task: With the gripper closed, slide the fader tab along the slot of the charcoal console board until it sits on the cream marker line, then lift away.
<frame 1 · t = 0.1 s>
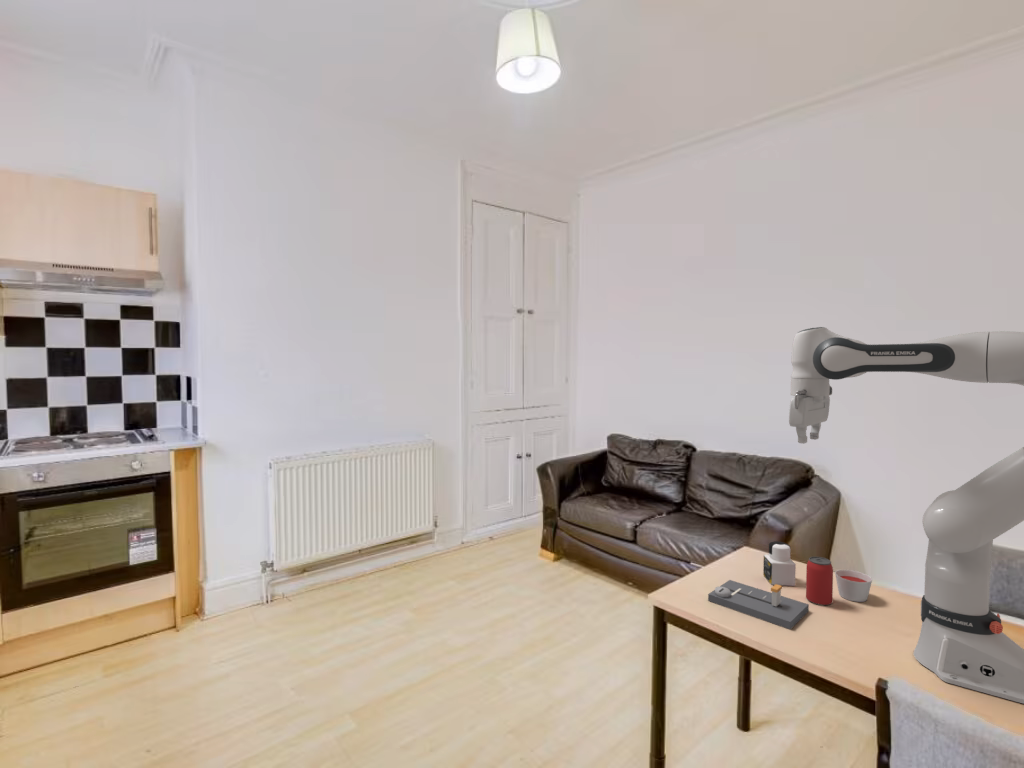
hand: (808, 441, 137), 48 cm above the table, fingers open, 8 cm apart
console: (757, 605, 145), on the table
beer can: (818, 601, 148), on the table
medicine bottle: (778, 581, 162), on the table
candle: (852, 597, 151), on the table
fader: (776, 595, 141), point 5 cm above the table, slide at 0.0 cm
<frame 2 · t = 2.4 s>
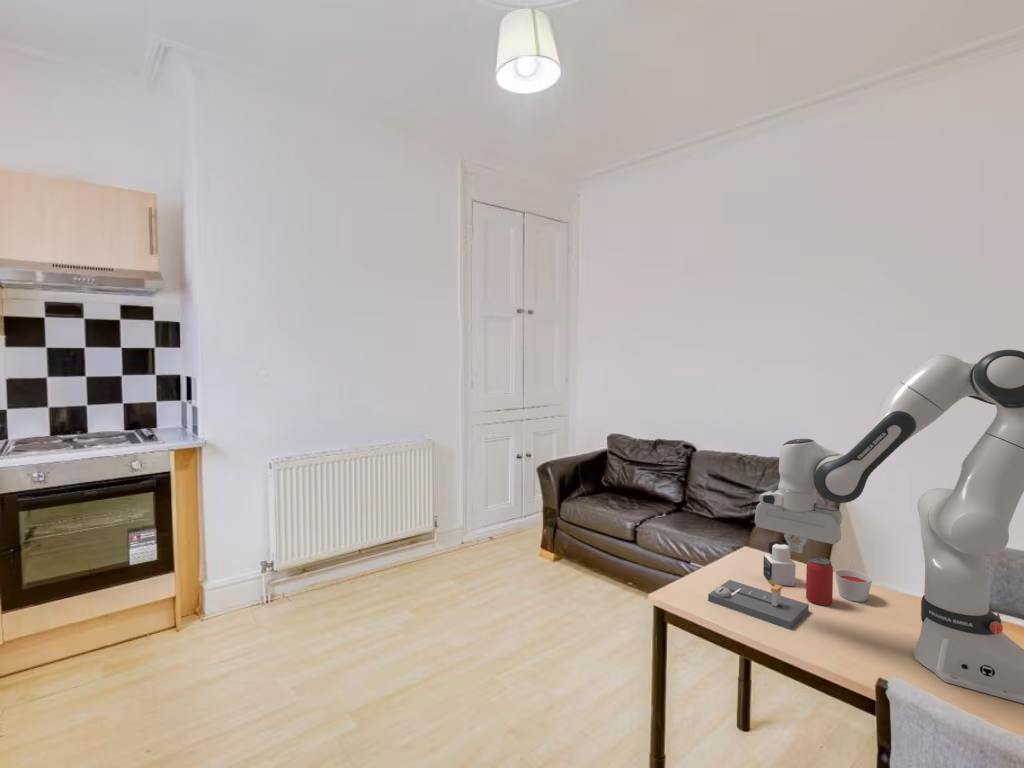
hand: (795, 551, 137), 19 cm above the table, fingers closed
nothing on the table moved.
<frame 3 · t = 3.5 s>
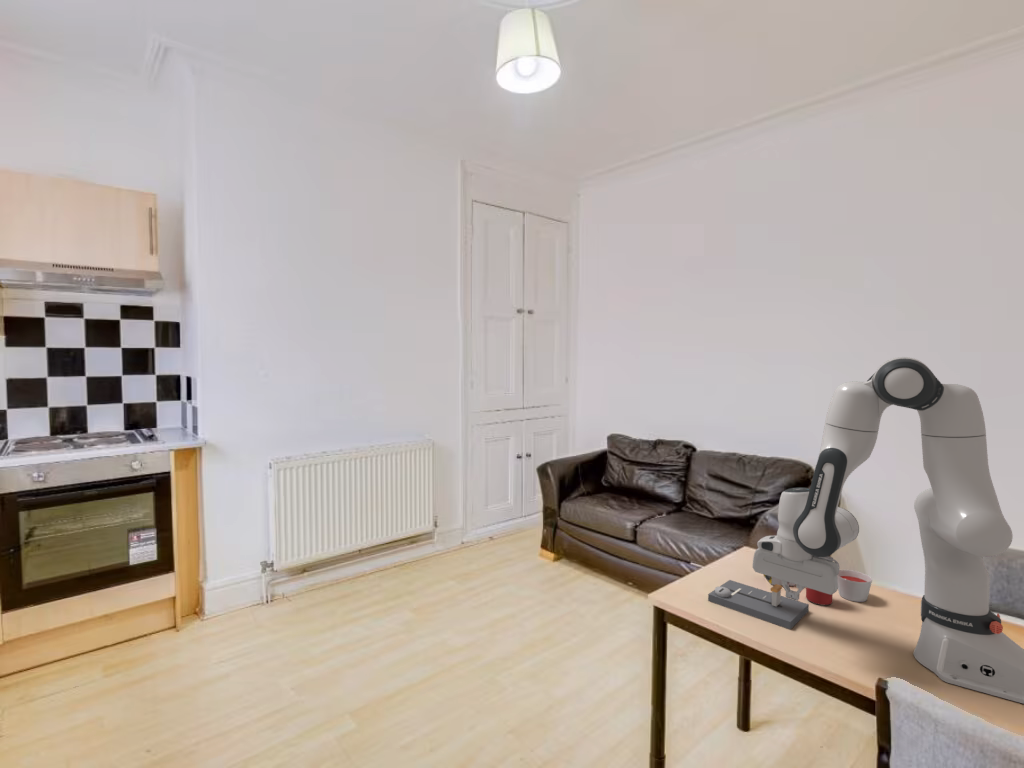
hand: (792, 598, 138), 6 cm above the table, fingers closed
nothing on the table moved.
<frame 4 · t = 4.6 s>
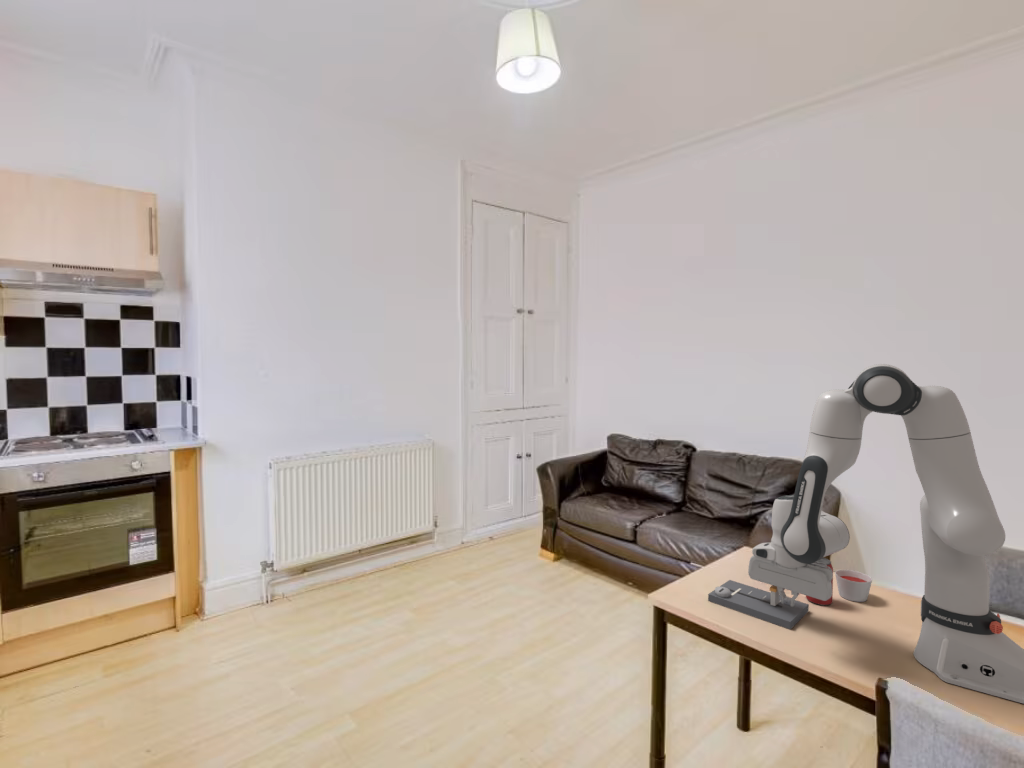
hand: (787, 604, 139), 3 cm above the table, fingers closed
fader: (775, 595, 142), point 5 cm above the table, slide at 0.3 cm, touching gripper
everything else where it was.
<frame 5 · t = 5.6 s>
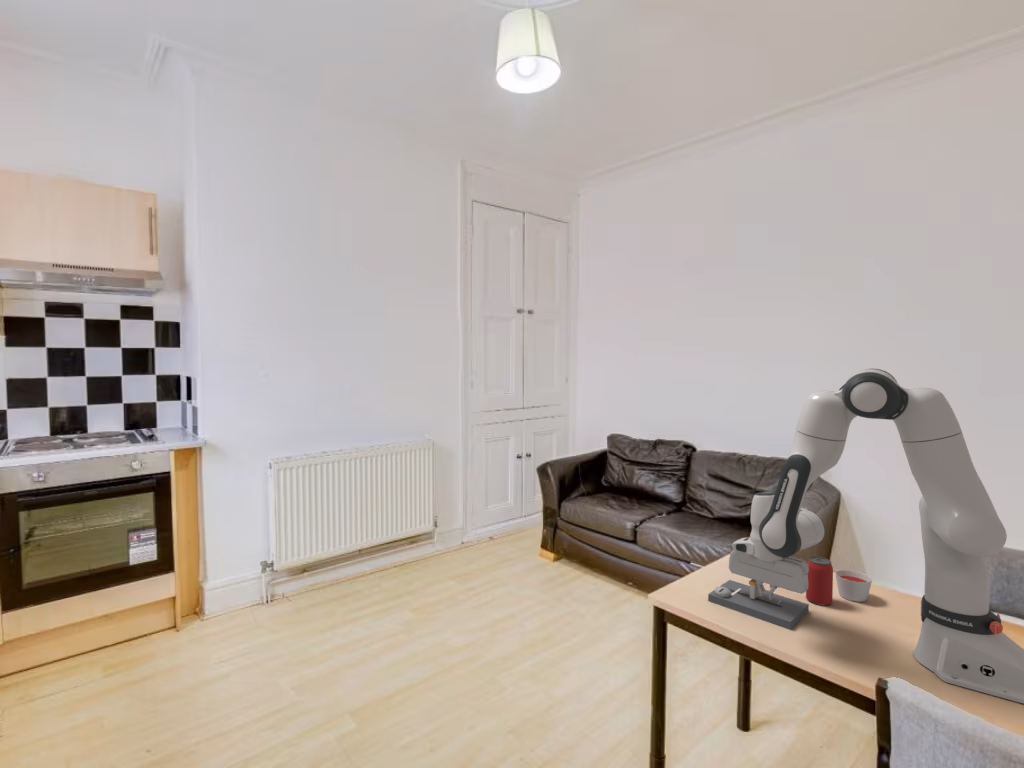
hand: (766, 597, 143), 3 cm above the table, fingers closed
fader: (754, 588, 146), point 5 cm above the table, slide at 5.9 cm, touching gripper
everything else where it was.
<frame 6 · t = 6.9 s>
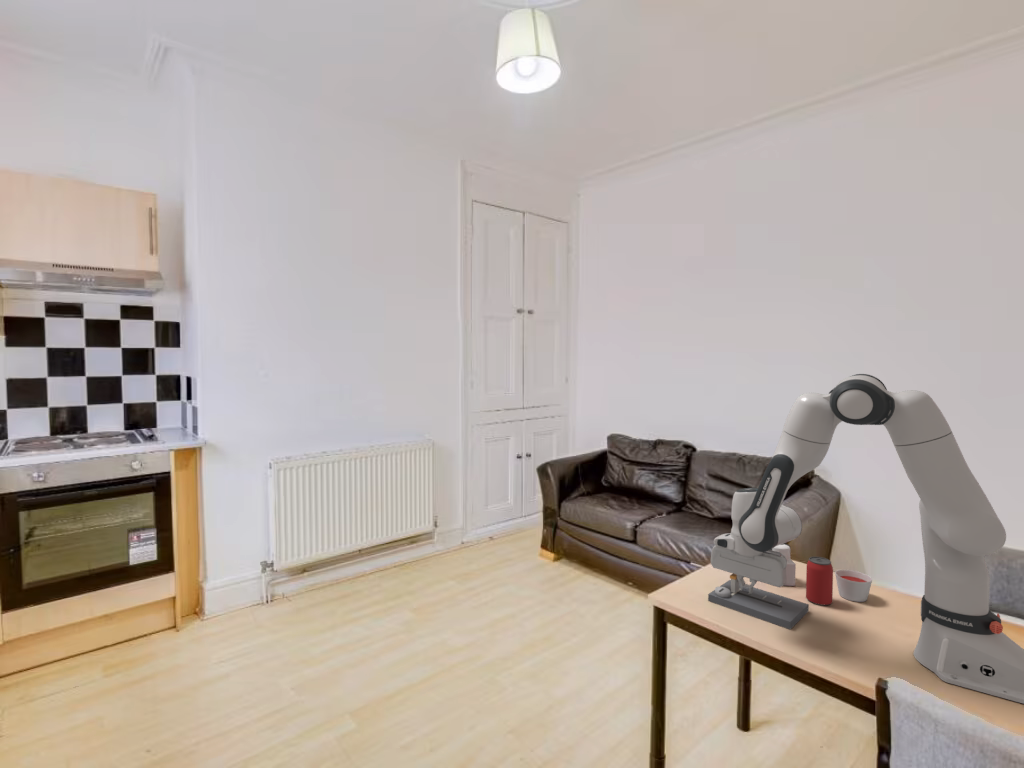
hand: (746, 591, 147), 3 cm above the table, fingers closed
fader: (735, 582, 150), point 5 cm above the table, slide at 11.3 cm, touching gripper
everything else where it was.
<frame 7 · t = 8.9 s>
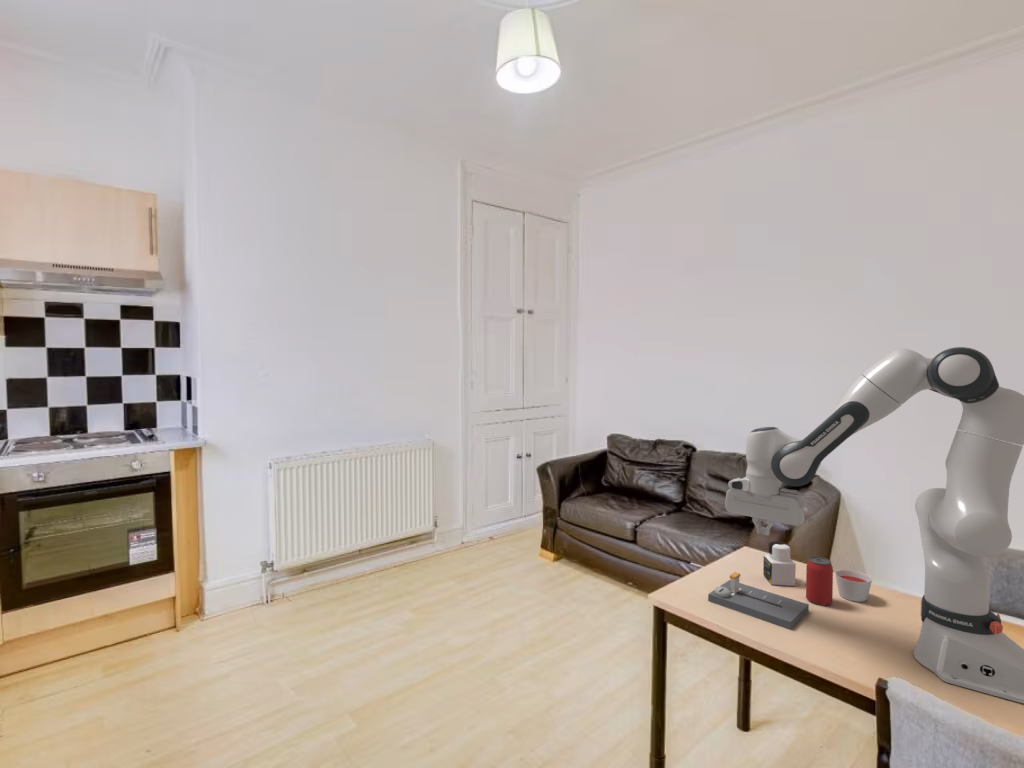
hand: (763, 534, 143), 21 cm above the table, fingers closed
fader: (734, 582, 150), point 5 cm above the table, slide at 11.4 cm
everything else where it was.
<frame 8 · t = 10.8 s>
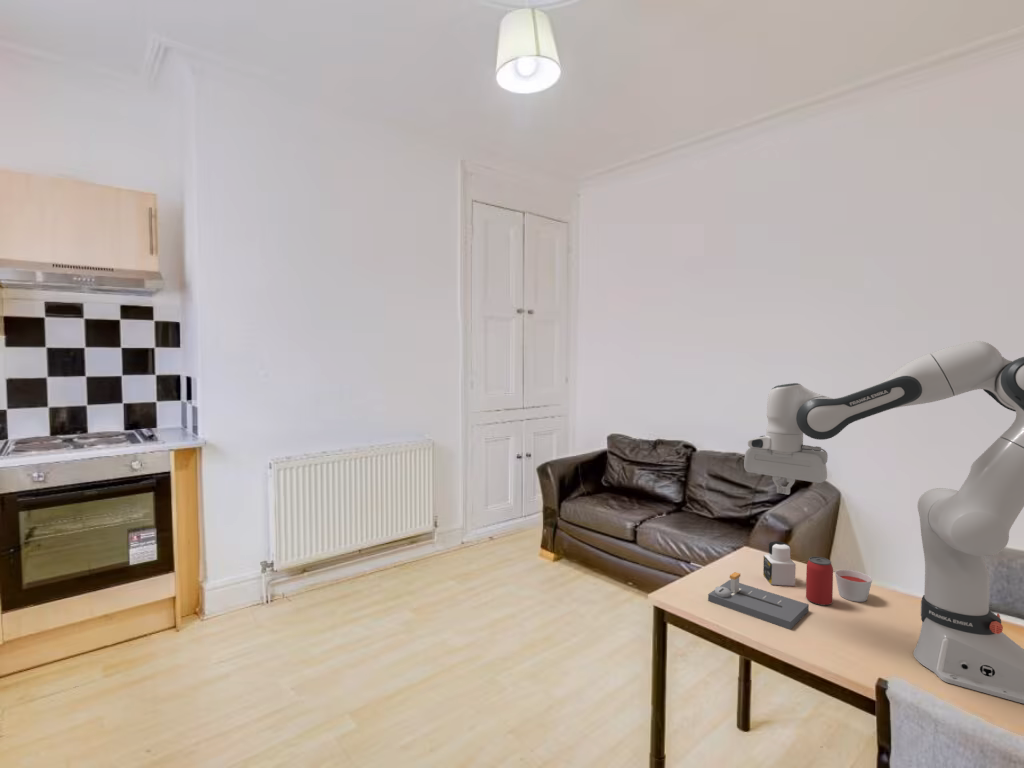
hand: (783, 493, 140), 33 cm above the table, fingers closed
nothing on the table moved.
at the end: fader slide at 11.4 cm; fader touching nothing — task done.
